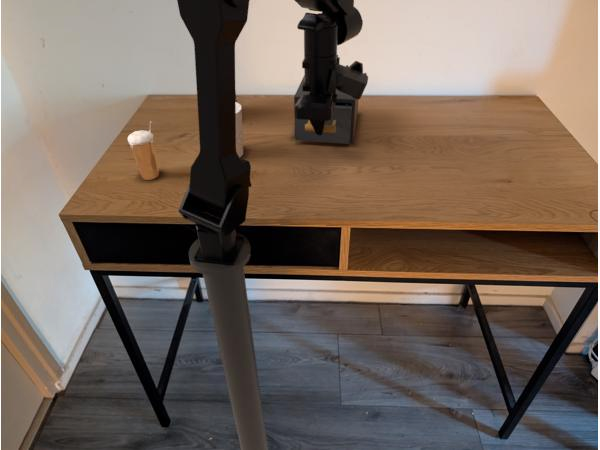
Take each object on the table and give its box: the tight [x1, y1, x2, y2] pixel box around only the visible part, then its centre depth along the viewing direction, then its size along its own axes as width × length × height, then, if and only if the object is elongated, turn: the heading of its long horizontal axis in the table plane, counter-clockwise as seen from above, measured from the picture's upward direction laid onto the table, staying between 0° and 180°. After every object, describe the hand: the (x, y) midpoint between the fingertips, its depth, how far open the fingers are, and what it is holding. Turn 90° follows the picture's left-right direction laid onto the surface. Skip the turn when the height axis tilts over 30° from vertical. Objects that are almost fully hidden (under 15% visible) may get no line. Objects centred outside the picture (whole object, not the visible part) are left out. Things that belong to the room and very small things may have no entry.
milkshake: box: [127, 121, 160, 181], centre depth 81 cm, size 5×5×10 cm
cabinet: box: [293, 76, 360, 144], centre depth 96 cm, size 15×13×10 cm
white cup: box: [235, 102, 244, 158], centre depth 87 cm, size 8×8×10 cm
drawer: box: [294, 102, 352, 145], centre depth 92 cm, size 18×11×8 cm, turn 170°
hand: (319, 134), depth 85 cm, fingers closed
